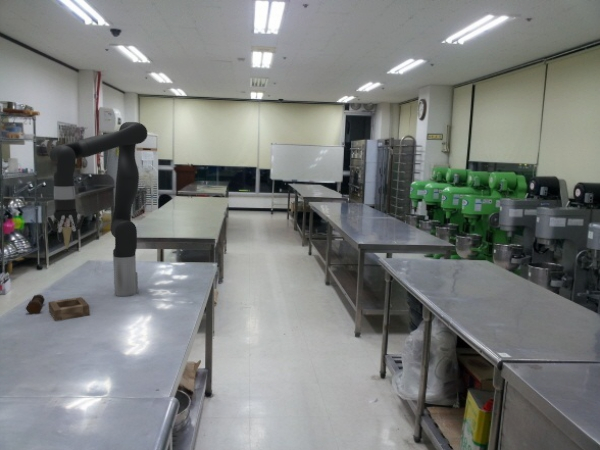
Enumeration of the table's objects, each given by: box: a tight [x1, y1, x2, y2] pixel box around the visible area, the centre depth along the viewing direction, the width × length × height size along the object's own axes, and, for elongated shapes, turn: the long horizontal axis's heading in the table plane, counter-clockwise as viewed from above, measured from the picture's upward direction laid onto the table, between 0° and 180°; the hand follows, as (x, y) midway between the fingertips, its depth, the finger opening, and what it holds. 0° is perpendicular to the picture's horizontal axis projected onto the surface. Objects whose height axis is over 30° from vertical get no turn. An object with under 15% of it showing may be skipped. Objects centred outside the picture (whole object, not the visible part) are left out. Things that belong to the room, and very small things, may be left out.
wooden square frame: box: [48, 296, 90, 322], centre depth 184 cm, size 12×12×4 cm
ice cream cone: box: [59, 218, 75, 253], centre depth 187 cm, size 6×6×15 cm
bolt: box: [25, 294, 46, 315], centre depth 189 cm, size 6×5×15 cm
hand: (66, 240), depth 188 cm, fingers closed on ice cream cone, 3 cm apart
